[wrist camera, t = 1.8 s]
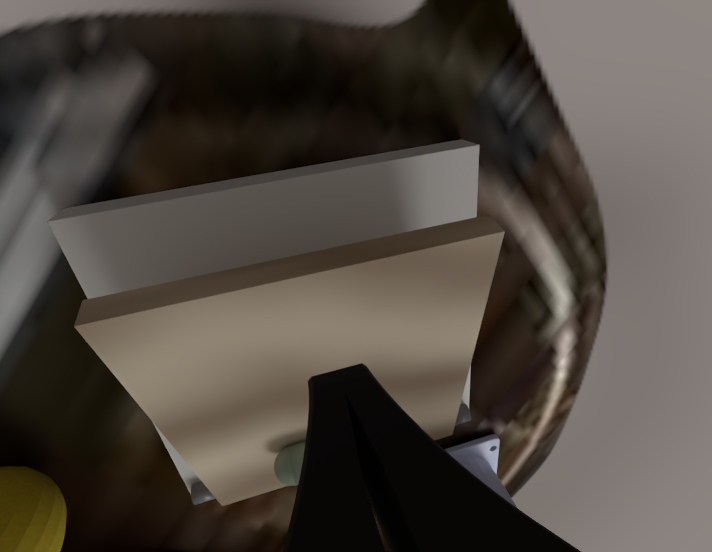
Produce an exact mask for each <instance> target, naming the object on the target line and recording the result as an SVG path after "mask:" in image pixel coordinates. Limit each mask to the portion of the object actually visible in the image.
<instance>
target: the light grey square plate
mask: <svg viewBox="0 0 712 552" xmlns="http://www.w3.org/2000/svg"><path fill="white" fill-rule="evenodd" d="M478 168H479V145H478V144H475V143H472V142H468V141H465V140H462V139H461V140H455V141H449V142H443V143H438V144H432V145H426V146H420V147H415V148H409V149H403V150H397V151H392V152H386V153H380V154H374V155H368V156H363V157H357V158H351V159H345V160H340V161H334V162H328V163H322V164H317V165H311V166H305V167H299V168H294V169H288V170H282V171H276V172H271V173H265V174H259V175H253V176H247V177H242V178H236V179H230V180H224V181H219V182H213V183H207V184H201V185H196V186H190V187H184V188H178V189H173V190H167V191H161V192H155V193H149V194H144V195H138V196H132V197H126V198H121V199H115V200H109V201H103V202H98V203H92V204H86V205H80V206H75V207H69V208H64V209H63V210H61V211H60V212H59V213H58V214H56V215H55V216H54V217H53V218H51V219H50V220H49V221H47V222H48V224H49V226H50V228H51V230H52V232H53V234H54V236H55V237H56V239H57V241H58V243H59V245H60V247H61V249H62V251H63V253H64V255H65V256H66V258H67V260H68V262H69V264H70V266H71V268H72V270H73V272H74V274H75V275H76V277H77V279H78V281H79V283H80V285H81V287H82V289H83V291H84V293H85V294H86V296H87V298H88V299H91V298H96V297H100V296H105V295H110V294H115V293H119V292H124V291H129V290H134V289H138V288H143V287H148V286H153V285H157V284H162V283H167V282H172V281H176V280H181V279H186V278H190V277H195V276H200V275H205V274H209V273H214V272H219V271H224V270H228V269H233V268H238V267H243V266H247V265H252V264H257V263H262V262H266V261H271V260H276V259H281V258H285V257H290V256H295V255H299V254H304V253H309V252H314V251H318V250H323V249H328V248H333V247H337V246H342V245H347V244H352V243H356V242H361V241H366V240H371V239H375V238H380V237H385V236H390V235H394V234H399V233H404V232H408V231H413V230H418V229H423V228H427V227H432V226H437V225H442V224H446V223H451V222H456V221H461V220H465V219H470V218H475V217H477V193H478ZM470 371H471V365H470V369H469V372H468V376H467V380H466V384H465V388H464V392H463V396H462V400H461V404H460V407H459V411H458V415H457V419H456V423H455V425H458V424H461V423H465V422H468V421H471V413H470V410H469V396H470ZM153 424H154V423H153ZM154 426H155V427H156V429H157V431H158V433H159V435H160V437H161V439H162V441H163V443H164V445H165V446H166V448H167V450H168V452H169V454H170V456H171V458H172V460H173V462H174V464H175V466H176V467H177V469H178V471H179V473H180V475H181V477H182V479H183V481H184V483H185V485H186V486H187V488H188V490H189V492H190V494H191V499H192V502H193V504H194V505H196V504H199V503H202V502H206V501H209V500H212V499H215V497H214V496H213V494H212V493H211V492H210V491H209V489H208V488H207V487H206V486H205V485H204V483H203V482H202V481H201V480H200V479H199V477H198V476H197V475H196V474H195V473H194V471H193V470H192V469H191V468H190V466H189V465H188V464H187V463H186V462H185V460H184V459H183V458H182V457H181V456H180V454H179V453H178V452H177V451H176V449H175V448H174V447H173V446H172V445H171V443H170V442H169V441H168V440H167V439H166V437H165V436H164V435H163V434H162V432H161V431H160V430H159V429H158V428H157V426H156V425H155V424H154Z"/></svg>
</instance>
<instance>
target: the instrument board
mask: <svg viewBox="0 0 712 552" xmlns="http://www.w3.org/2000/svg"><path fill="white" fill-rule="evenodd" d="M504 233H505V231H504V230H503V229H502V228H501V227H500V226H499V225H498V224H497V223H496V222H495V221H494V220H493V219H492V217H491V216H490V215H484V216H480V217H475V218H470V219H465V220H461V221H456V222H451V223H446V224H442V225H437V226H432V227H427V228H423V229H418V230H413V231H408V232H404V233H399V234H394V235H390V236H385V237H380V238H375V239H371V240H366V241H361V242H356V243H352V244H347V245H342V246H337V247H333V248H328V249H323V250H318V251H314V252H309V253H304V254H299V255H295V256H290V257H285V258H281V259H276V260H271V261H266V262H262V263H257V264H252V265H247V266H243V267H238V268H233V269H228V270H224V271H219V272H214V273H209V274H205V275H200V276H195V277H190V278H186V279H181V280H176V281H172V282H167V283H162V284H157V285H153V286H148V287H143V288H138V289H134V290H129V291H124V292H119V293H115V294H110V295H105V296H100V297H96V298H91V299H86V300H83V301H82V304H81V307H80V310H79V313H78V316H77V319H76V322H75V325H74V327H75V328H76V329H77V331H78V332H79V333H80V334H81V335H82V337H83V338H84V339H85V340H86V341H87V343H88V344H89V345H90V346H91V348H92V349H93V350H94V351H95V352H96V354H97V355H98V356H99V357H100V358H101V360H102V361H103V362H104V363H105V365H106V366H107V367H108V368H109V369H110V371H111V372H112V373H113V374H114V375H115V377H116V378H117V379H118V380H119V381H120V383H121V384H122V385H123V386H124V388H125V389H126V390H127V391H128V392H129V394H130V395H131V396H132V397H133V398H134V400H135V401H136V402H137V403H138V405H139V406H140V407H141V408H142V409H143V411H144V412H145V413H146V414H147V415H148V417H149V418H150V419H151V420H152V422H153V423H154V424H155V425H156V426H157V428H158V429H159V430H160V431H161V432H162V434H163V435H164V436H165V437H166V439H167V440H168V441H169V442H170V443H171V445H172V446H173V447H174V448H175V449H176V451H177V452H178V453H179V454H180V456H181V457H182V458H183V459H184V460H185V462H186V463H187V464H188V465H189V466H190V468H191V469H192V470H193V471H194V473H195V474H196V475H197V476H198V477H199V479H200V480H201V481H202V482H203V483H204V485H205V486H206V487H207V488H208V489H209V491H210V492H211V493H212V494H213V496H214V497H215V498H216V499H217V500H218V502H219V503H220V504H221V505H222V506H224V505H227V504H230V503H234V502H237V501H240V500H243V499H247V498H250V497H253V496H256V495H260V494H263V493H266V492H269V491H272V490H276V489H279V488H282V487H285V486H294V485H298V483H299V478H300V473H301V468H302V463H303V456H304V449H305V441H306V434H307V425H308V413H309V388H308V380H309V379H310V378H311V377H312V376H315V375H319V374H323V373H327V372H331V371H334V370H338V369H342V368H346V367H349V366H353V365H357V364H361V363H362V364H364V365H366V366H367V367H368V369H369V370H370V372H371V373H372V374H373V376H374V377H375V378H376V379H377V381H378V382H379V383H380V384H381V386H382V387H383V388H384V389H385V390H386V391H387V393H388V394H389V395H390V396H391V397H392V398H393V399H394V400H395V402H396V403H397V404H398V405H399V406H400V407H401V408H402V409H403V410H404V411H405V412H406V413H407V414H408V415H409V416H410V417H411V418H412V419H413V420H414V421H415V422H416V423H417V424H418V425H419V426H420V427H421V428H422V429H423V430H424V431H425V432H426V433H427V434H428V435H429V436H430V437H431V438H432V439H433V440H437V439H441V438H444V437H447V436H450V435H453V431H454V427H455V423H456V419H457V415H458V411H459V407H460V404H461V400H462V396H463V392H464V388H465V384H466V380H467V376H468V372H469V369H470V365H471V361H472V357H473V353H474V349H475V345H476V341H477V338H478V334H479V330H480V326H481V322H482V318H483V314H484V310H485V306H486V303H487V299H488V295H489V291H490V287H491V283H492V279H493V275H494V272H495V268H496V264H497V260H498V256H499V252H500V248H501V244H502V241H503V237H504Z"/></svg>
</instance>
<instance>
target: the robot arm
mask: <svg viewBox="0 0 712 552" xmlns="http://www.w3.org/2000/svg"><path fill="white" fill-rule="evenodd" d="M308 388H309V413H308V425H307V434H306V441H305V449H304V456H303V463H302V468H301V473H300V478H299V483H298V488H297V494H296V499H295V504H294V508H293V512H292V516H291V521H290V525H289V529H288V533H287V537H286V541H285V544H284V548H283V552H385V550H384V547H383V544H382V541H381V537H380V534H379V531H378V528H377V525H376V522H375V519H374V515H373V512H372V509H371V506H370V503H369V500H368V497H367V494H368V496H369V499H370V501H371V504H372V507H373V509H374V512H375V515H376V517H377V520H378V522H379V525H380V528H381V530H382V533H383V535H384V538H385V541H386V543H387V546H388V549H389V551H390V552H580V551H579V550H578V549H576V548H575V547H573V546H572V545H570V544H569V543H567V542H566V541H564V540H563V539H561V538H560V537H558V536H557V535H555V534H554V533H552V532H551V531H549V530H548V529H546V528H545V527H543V526H542V525H540V524H539V523H538V522H536V521H534V520H533V519H532V518H530V517H529V516H527V515H526V514H524V513H523V512H522V511H520V510H519V509H518V508H517V507H516V505H515V504H514V502H513V500H512V499H511V497H510V496H509V494H508V492H507V491H506V489H505V488H504V486H503V485H502V483H501V481H500V480H499V478H498V477H497V475H496V474H497V464H498V454H499V444H500V440H499V438H498V437H497V436H496V435H494V434H493V435H489V436H485V437H482V438H479V439H476V440H473V441H469V442H466V443H463V444H460V445H457V446H454V447H450V448H447V449H443V448H442V447H441V446H440V445H439V444H438V443H436V442H435V441H434V440H433V439H432V438H431V437H430V436H429V435H428V434H427V433H426V432H425V431H424V430H423V429H422V428H421V427H420V426H419V425H418V424H417V423H416V422H415V421H414V420H413V419H412V418H411V417H410V416H409V415H408V414H407V413H406V412H405V411H404V410H403V409H402V408H401V407H400V406H399V405H398V404H397V403H396V402H395V400H394V399H393V398H392V397H391V396H390V395H389V394H388V393H387V391H386V390H385V389H384V388H383V387H382V386H381V384H380V383H379V382H378V381H377V379H376V378H375V377H374V376H373V374H372V373H371V372H370V370H369V369H368V367H367V366H366V365H364V364H362V363H361V364H357V365H353V366H349V367H346V368H342V369H338V370H334V371H331V372H327V373H323V374H319V375H315V376H312V377H311V378H310V379H309V380H308ZM365 488H366V489H365ZM366 491H367V493H366Z"/></svg>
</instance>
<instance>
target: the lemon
mask: <svg viewBox="0 0 712 552" xmlns="http://www.w3.org/2000/svg"><path fill="white" fill-rule="evenodd" d="M66 515H67V511H66V504H65V501H64V498H63V495H62V493H61V491H60V489H59V487H58V486H57V485H56V484H55V483H54V482H53V480H52V479H51V478H49V477H48V476H46V475H45V474H43V473H41V472H39V471H36V470H33V469H31V468H29V467H26V466H21V467H14V466H6V467H0V552H60V551H61V548H62V544H63V540H64V535H65V529H66Z"/></svg>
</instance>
